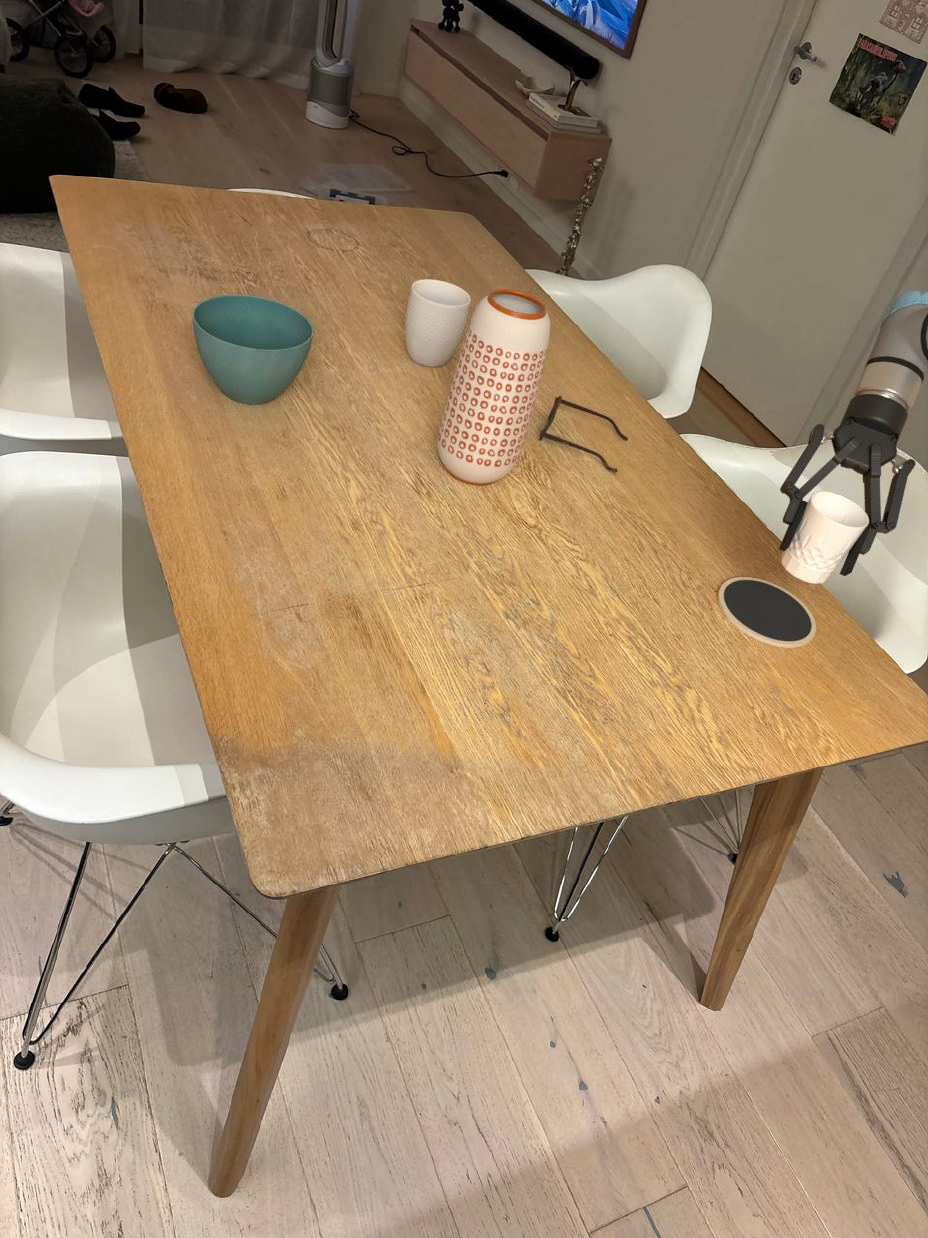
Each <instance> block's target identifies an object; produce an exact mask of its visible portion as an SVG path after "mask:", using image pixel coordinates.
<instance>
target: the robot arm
mask: <svg viewBox="0 0 928 1238" xmlns="http://www.w3.org/2000/svg"><path fill="white" fill-rule="evenodd" d="M879 328H880V329H879V331H878V335H877V336H876V339H875V342H874V345H873V347H872V348H871V352H870V354H869V356H868V359H867V362H866V363H865V365H864V368H863V370H862V373H861V375H860V378H859V380H858V382H857V384H856V387H855V389H854V391H853V397H852V398H851V399H849V400H850V401H849V402H848V404H847V407H846V409H845V412H844V414H843V416H842V419H841V421H840V423H839V425H838V426H837V427H836V428H834V429H832V428H827V427H825V426H824V425H823V424H822V423H817V424H816V425H815V426H814V427H813V428H812V430H811V431H810V433H809V437H808V441H807V445H806V446H805V448H804V450H803V452H802V453H801V455H800V456H799V457H798V459H797V461H796V463H795V464H794V466H792V467H793V468H792V469H791V470H790V472H789V473H788V475H787V477H786V478H785V480H784V481H783V483H782V485H781V486H780V488H779V490H780V493H781V494H782V495H783V494H784V495H786V496H787V497H788V499H789V502H788V505H787V508H786V510H785V512H784V515H783V517H782V523H783V524H785V525H788V526H787V528H786V531H785V533H784V536H783V538H782V540H781V542H780V545H779V548H778V550H780V551H782V552H784V551H785V550H786V549H788V548H789V546H790V544H791V542H792V539H793V537H794V535H795V532H796V530H797V528H798V525H799V523H800V521H801V518H802V516H803V514H804V511H805V509H806V506H807V503H808V501H806V500H804V498H805V497H806V496H807V495H808V494H809V493H811V491H812V490H813V489H815V488H816V487H817V486H818V485H819V484H820V483H821V482H822V481H823V480H824V479H826V477H827V476H828V475H830V473H832V472H833V471H834V470H835V469H836V468H837V467H838V466H839V467H842V468H844V469H849V470H853V471H854V472H855V473H857V474H859V475H862V483H863V492H864V493H863V494H864V511H865V512H866V514H867V515H868V517H869V524H868V525H867V527H866V528H865V529H864V531H863V532H862V534H861V535H860V536H859V538H858V539H857V541H856V542H855V544H854V545H853V546H852V548H851V549H850V551H849V552H848V553H847V555H846V556H845V557H846V558H845V560H844V562H843V564H842V567H841V568H840V572H839V575H840V576H844V577H846V576H848V575H850V574H852V573H853V571H854V568H855V566H856V564H857V561H858V558H859V556H860V555H862V556H864V555H866V554H868V553H869V552H870V551H871V548H872V546H873V544H874V542H875V539H876V536H877V534H878V533H879V534H884V535H887V534H889V533H891V532H892V531H894V530H895V529H896V528H897V525H898V521H899V516H900V512H901V507H902V504H903V501H904V500H903V499H904V495H905V491H906V486H907V482H908V477H909V475H910V474H911V472H912V471H913V470H914V468H915V467H916V460H914V459H913V458H909V459H906V458H904V457H903V456H901V455H899V454H898V449H897V448H898V447H897V445H898V442H899V440H900V437H901V434H902V432H903V431H904V427H905V425H906V423H907V420H908V418H909V413H910V412H911V411H912V408H913V406H914V404H915V401H916V398H917V396H918V394H919V390H920V388H921V387H922V384H923V382H924V380H925V378H926V375H927V373H928V291H925V292H921V291H919V290H911V291H907V292H904V293H902V294H900V295H898V297H896V299H895V300H894V301H893V302H892V304H891V306H890V308H889V310H888V312H887V314H886V316H885V318H884V319H883V321H882V322H881V325H880V327H879ZM828 440H830V441H831V444H832V448H833V451H834V456H833V457H831V458H830V459H829V460H828V461H827V462H826V463H825V464H824V465H823V466H822V467H821V468H819V470H818V471H816V473H814V474H813V475H812V476H811V477H810V478H809V479H808V480H807V481H806V482H805V483H804V484H803V485H802V486H801V487H798V486H797V485H796V484H797V482H798V480H799V479H800V477H801V476H802V475H803V473H804V471H805V469H806V468H807V467H808V465H809V463H810V462H811V460H812V459H813V457H814V455H815V454H816V453H817V451H818V449H819V448H820V446H822V445H825V443H827V441H828ZM889 463H891V465H892V468H891V472H892V474H893V476H892V477H891V478H892V479H891V481H890V485H889V489H888V494H887V498H886V502H885V507H884V511H883V514H882V509H881V508H882V507H881V506H882V504H881V476H882V467H883V466H885V465H888V464H889ZM882 515H883V516H882Z"/></svg>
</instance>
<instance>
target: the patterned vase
mask: <svg viewBox="0 0 928 1238" xmlns="http://www.w3.org/2000/svg"><path fill="white" fill-rule="evenodd" d="M551 325H552V324H551V319H550V315H549V313H548V311H547V309H546V306H545V304H544V303H543V302H542V301H541V300H539V299H538V298H536V297H535V296H533V295H530V294H528V293H526V292H524V291H519V290H516V289H508V288H499V289H494V290H492V291H491V292H490V293H489V294H488V295H486V296H483V298H482V299H480V301H479V302H478V303H477V305H476V307H475V309H474V311H473V314H472V316H471V319H470V322H469V324H468V327H467V330H466V333H465V336H464V338H463V342H462V345H461V349H460V351H459V354H458V358H457V361H456V364H455V368H454V371H453V374H452V379H451V381H450V384H449V389H448V393H447V396H446V399H445V403H444V407H443V410H442V414H441V417H440V420H439V425H438V429H437V434H436V448H437V449H436V450H437V454H438V457H439V460H440V461H441V463H442V464H443V466H444V467H445V470H446V471H447V472H448V474H449V475H450V476H452V477H453V478H454V479H456V480H458V481H460V482H462V483H465V484H468V485H473V486H488V485H492V484H493V483H495V482H497V481H499V480H502V479H503V478H504V477H506V476H507V475H508V474H510V473H511V471H512V470H513V469H514V468H515V466H516V464H517V463H518V460H519V459H520V456H521V453H522V449H523V446H524V442H525V438H526V435H527V432H528V428H529V424H530V421H531V417H532V415H533V410H534V406H535V403H536V399H537V395H538V391H539V387H540V383H541V378H542V374H543V370H544V367H545V361H546V357H547V352H548V347H549V342H550V336H551V327H552V326H551Z"/></svg>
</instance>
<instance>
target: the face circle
mask: <svg viewBox="0 0 928 1238" xmlns="http://www.w3.org/2000/svg"><path fill="white" fill-rule="evenodd" d="M717 604H718V606H719V609H720V611H721V612H722V613H723V615H724V616H725V618H726V619H727V620H728V621H729V622H730V623H731V624H732V625H733V626H735V627H736V628H737V629H738V630H740V631H741V632H742V633H744V634H745V635H747V636H749V637H750V638H752V639H754V640H757V641H759V642H761V643H764V644H766V645H770V646H772V647H776V648H785V649H795V648H801V647H803V646H806V645H808V644H809V643H811V641H812V640H813V638H814V637H815V636H816V633H817V622H816V619H815V617H814V615H813V614H812V612H811V610H810V609H809V607H807V606H806V604H805V603H803V601H802V600H801V599H800V598H799V597H797V596H796V595H794V594H793V593H791V592H790V591H789V590H787V589H785V588H784V587H782V586H780V585H777V584H775V583H773V582H771V581H768V580H765V579H762V578H757V577H751V576H737V577H732V578H729V579H727V580H725V581H724V582H723V583H722V584H721V585H720V587H719V589H718V591H717Z"/></svg>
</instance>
